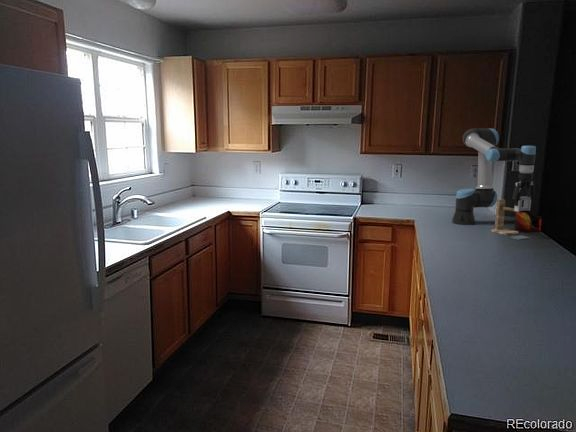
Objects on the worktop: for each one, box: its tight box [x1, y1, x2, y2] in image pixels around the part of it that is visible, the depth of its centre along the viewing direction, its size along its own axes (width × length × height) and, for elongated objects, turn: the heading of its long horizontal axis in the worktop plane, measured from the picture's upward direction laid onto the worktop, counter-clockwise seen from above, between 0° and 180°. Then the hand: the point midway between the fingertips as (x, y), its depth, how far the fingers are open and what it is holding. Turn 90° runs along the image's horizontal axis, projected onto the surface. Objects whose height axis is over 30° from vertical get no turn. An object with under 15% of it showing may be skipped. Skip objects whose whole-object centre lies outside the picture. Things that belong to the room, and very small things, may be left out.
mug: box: [514, 210, 543, 233], centre depth 275 cm, size 10×14×12 cm
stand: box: [490, 199, 520, 236], centre depth 267 cm, size 13×10×20 cm
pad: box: [510, 235, 531, 241], centre depth 254 cm, size 6×9×1 cm, turn 111°
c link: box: [519, 195, 531, 211], centre depth 256 cm, size 8×3×8 cm, turn 111°
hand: (522, 210), depth 257 cm, fingers closed on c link, 8 cm apart
